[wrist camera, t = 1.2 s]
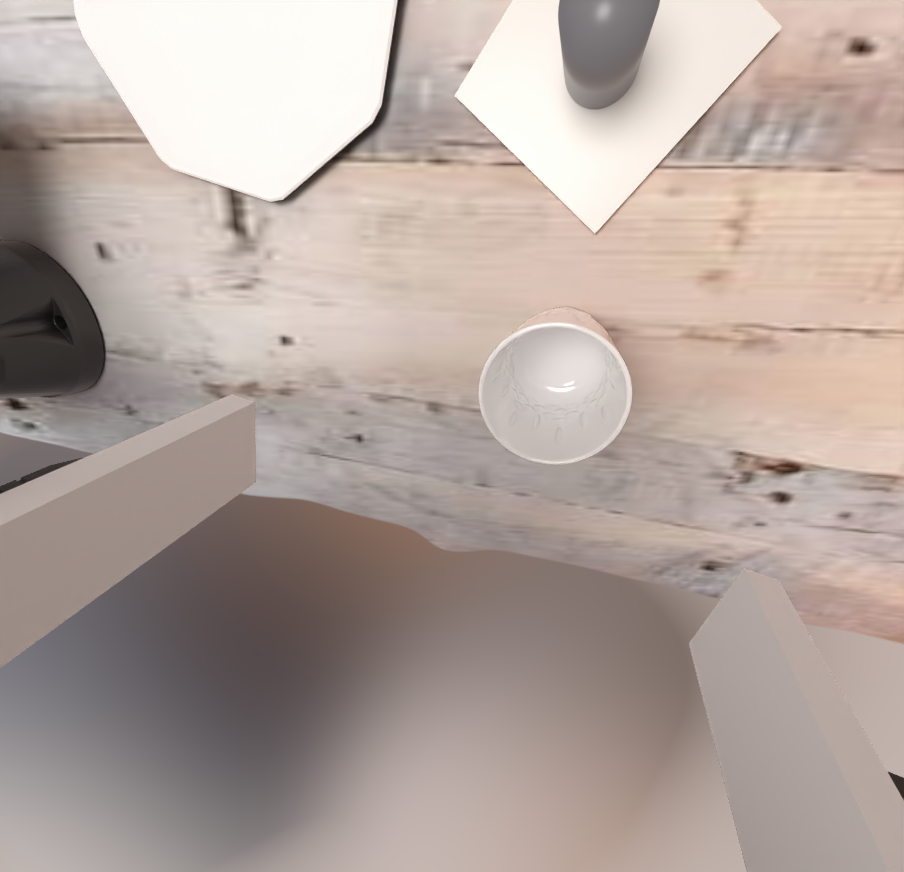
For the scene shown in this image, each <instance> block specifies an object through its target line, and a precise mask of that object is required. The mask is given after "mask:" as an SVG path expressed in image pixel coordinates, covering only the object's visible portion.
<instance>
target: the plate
mask: <svg viewBox="0 0 904 872" xmlns="http://www.w3.org/2000/svg"><path fill="white" fill-rule="evenodd" d="M73 2H74V10H75V16H76V19H77V22H78V25H79V28H80V31H81V33H82V36H83V38H84V40H85V41H86V43H87V45H88V46H89V48H90V49H91V51H92V52H93V54H94V56H95V57H96V59H97V60H98V62H99V63H100V65H101V67H102V68H103V70H104V71H105V73H106V75H107V76H108V78H109V79H110V81H111V82H112V84H113V86H114V87H115V89H116V90H117V92H118V93H119V95H120V97H121V98H122V100H123V101H124V103H125V104H126V106H127V108H128V109H129V111H130V112H131V114H132V116H133V117H134V119H135V120H136V122H137V123H138V125H139V127H140V128H141V130H142V131H143V133H144V134H145V136H146V138H147V139H148V141H149V142H150V144H151V145H152V147H153V149H154V150H155V152H156V153H157V155H158V157H159V158H160V159H161V160H162V161H163V162H164V163H165V164H166V165H168V166H169V167H170V168H171V169H172V170H175V171H178V172H182V173H185V174H188V175H191V176H194V177H197V178H200V179H203V180H206V181H209V182H212V183H215V184H218V185H221V186H224V187H227V188H230V189H233V190H236V191H239V192H242V193H245V194H248V195H251V196H254V197H257V198H260V199H263V200H266V201H269V202H274V201H279V200H285V199H286V198H287V197H288V196H289V195H291V194H292V193H293V192H294V191H295V190H296V189H298V188H299V187H300V186H301V185H302V184H303V183H305V182H306V181H307V180H308V179H309V178H310V177H312V176H313V175H314V174H315V173H316V172H317V171H319V170H320V169H321V168H322V167H323V166H324V165H326V164H327V163H328V162H329V161H330V160H332V159H333V158H334V157H335V156H336V155H337V154H339V153H340V152H341V151H342V150H343V149H344V148H346V147H347V146H348V145H349V144H350V143H351V142H353V141H354V140H355V139H356V138H357V137H358V136H360V135H361V134H362V133H363V132H364V131H365V130H367V129H368V128H369V127H370V126H371V125H372V124H374V122H375V120H376V118H377V116H378V114H379V112H380V110H381V108H382V106H383V101H384V94H385V88H386V81H387V75H388V68H389V62H390V55H391V49H392V42H393V36H394V29H395V23H396V16H397V10H398V3H399V0H73Z"/></svg>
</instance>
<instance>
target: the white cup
mask: <svg viewBox="0 0 904 872" xmlns="http://www.w3.org/2000/svg"><path fill="white" fill-rule="evenodd" d="M478 397H479V406H480V410H481V414H482V417H483V419H484V421H485V424H486V425H487V427H488V429H489V430H490V432H491V433H492V435H493V436H494V437H495V438H496V440H497V441H498V442H499V443H500V444H502V445H503V446H504V447H505V448H506V449H508V450H509V451H511V452H512V453H514V454H515V455H517V456H519V457H521V458H524V459H526V460H529V461H532V462H536V463H541V464H550V465H560V464H569V463H574V462H578V461H581V460H584V459H586V458H589V457H591V456H593V455H595V454H596V453H598V452H600V451H601V450H603V449H604V448H605V447H606V446H608V445H609V444H610V443H611V442H612V441H613V440H614V439H615V437H616V436H617V435H618V434H619V432H620V431H621V429H622V428H623V426H624V424H625V422H626V420H627V418H628V415H629V412H630V408H631V403H632V383H631V378H630V374H629V371H628V368H627V366H626V364H625V362H624V360H623V358H622V357H621V355H620V353H619V351H618V349H617V348H616V346H615V344H614V342H613V340H612V339H611V337H610V336H609V334H608V333H607V332H606V330H605V329H604V328H603V327H602V326H601V325H600V324H599V323H598V322H597V321H596V320H595V319H594V318H593V317H592V316H591V315H590V314H589V313H586V312H583V311H580V310H577V309H574V308H571V307H561V308H553V309H546V310H544V311H543V312H541V313H540V314H538V315H535V316H533V317H532V318H530V319H529V320H527V321H526V322H524V323H523V324H522V325H520V326H519V327H518V328H517V329H516V330H515V331H513V332H512V333H511V334H510V335H509V336H508V337H507V338H506V339H505V340H504V341H503V342H501V343H500V344H499V345H498V346H497V348H496V349H495V350H494V351H493V352H492V354H491V355H490V357H489V358H488V360H487V362H486V364H485V366H484V368H483V371H482V374H481V377H480V382H479V390H478Z"/></svg>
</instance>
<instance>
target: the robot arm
mask: <svg viewBox="0 0 904 872" xmlns="http://www.w3.org/2000/svg"><path fill="white" fill-rule="evenodd" d="M103 361H104V351H103V343H102V337H101V333H100V330H99V327H98V324H97V321H96V319H95V316H94V314H93V312H92V310H91V308H90V306H89V304H88V302H87V300H86V299H85V297H84V295H83V294H82V292H81V291H80V289H79V288H78V286H77V285H76V284H75V282H74V281H73V280H72V279H71V277H70V276H69V275H68V274H67V273H66V272H65V271H64V270H63V269H62V268H61V267H60V266H59V265H58V264H57V263H56V262H55V261H54V260H53V259H51V258H50V257H49V256H47V255H46V254H45V253H43V252H42V251H40V250H38V249H37V248H35V247H33V246H31V245H28V244H26V243H22V242H18V241H0V398H24V397H49V398H56V397H63V396H67V395H70V394H74V393H77V392H80V391H84V390H86V389H88V388H90V387H91V386H93V385H94V384H95V383H96V381H97V380H98V378H99V377H100V374H101V372H102V368H103ZM255 482H256V445H255V402H253V401H250V400H247V399H244V398H241V397H238V396H235V395H233V394H231V395H229V396H226V397H224V398H222V399H219V400H217V401H215V402H212V403H210V404H208V405H205V406H203V407H201V408H199V409H196V410H194V411H192V412H189V413H187V414H185V415H182V416H180V417H178V418H175V419H173V420H171V421H168V422H166V423H164V424H161V425H159V426H157V427H154V428H152V429H150V430H147V431H145V432H143V433H141V434H138V435H136V436H134V437H131V438H129V439H127V440H124V441H122V442H120V443H117V444H115V445H113V446H110V447H108V448H106V449H103V450H101V451H99V452H96V453H94V454H92V455H90V456H87V457H85V458H80V459H75V460H71V461H67V462H63V463H59V464H55V465H50V466H48V467H46V468H43V469H41V470H39V471H36V472H34V473H31V474H29V475H26V476H24V477H22V478H21V480H20V481H16V480H14V481H12V482H10V483H7V484H5V485H2V486H0V668H1V667H2V666H3V665H5V664H6V663H8V662H9V661H10V660H12V659H13V658H14V657H16V656H17V655H19V654H20V653H21V652H23V651H24V650H25V649H27V648H28V647H30V646H31V645H32V644H34V643H35V642H37V641H38V640H39V639H41V638H42V637H43V636H45V635H46V634H48V633H49V632H50V631H52V630H53V629H54V628H56V627H57V626H59V625H60V624H61V623H63V622H64V621H65V620H67V619H68V618H69V617H71V616H72V615H73V614H75V613H76V612H78V611H79V610H80V609H82V608H83V607H85V606H86V605H87V604H89V603H90V602H91V601H93V600H94V599H96V598H97V597H98V596H99V595H101V594H102V593H104V592H105V591H107V590H108V589H109V588H111V587H112V586H113V585H115V584H116V583H118V582H119V581H120V580H122V579H123V578H124V577H126V576H127V575H129V574H130V573H131V572H133V571H134V570H135V569H137V568H138V567H140V566H141V565H142V564H144V563H145V562H146V561H148V560H149V559H151V558H152V557H153V556H155V555H156V554H157V553H159V552H160V551H162V550H163V549H164V548H166V547H167V546H168V545H170V544H171V543H173V542H174V541H175V540H177V539H178V538H179V537H181V536H182V535H184V534H185V533H186V532H188V531H189V530H190V529H192V528H193V527H194V526H196V525H197V524H198V523H200V522H201V521H203V520H204V519H206V518H207V517H208V516H209V515H211V514H212V513H214V512H215V511H216V510H218V509H219V508H221V507H222V506H223V505H225V504H226V503H227V502H229V501H230V500H231V499H233V498H234V497H236V496H237V495H239V494H240V493H241V492H243V491H244V490H245V489H247V488H248V487H250V486H251V485H252V484H254V483H255ZM689 646H690V650H691V654H692V658H693V662H694V666H695V670H696V674H697V678H698V682H699V685H700V689H701V693H702V697H703V701H704V705H705V709H706V713H707V717H708V721H709V725H710V728H711V733H712V737H713V740H714V745H715V748H716V752H717V756H718V760H719V764H720V768H721V772H722V776H723V780H724V784H725V788H726V792H727V795H728V800H729V803H730V807H731V811H732V815H733V819H734V823H735V827H736V831H737V835H738V839H739V843H740V847H741V851H742V855H743V858H744V863H745V867H746V870H747V872H904V778H903V777H900V776H898V775H895V774H893V773H890V772H887V770H886V768H885V767H884V765H883V763H882V761H881V760H880V758H879V756H878V754H877V753H876V751H875V749H874V747H873V745H872V744H871V742H870V740H869V738H868V737H867V735H866V733H865V731H864V730H863V728H862V726H861V724H860V722H859V721H858V719H857V717H856V715H855V714H854V712H853V710H852V709H851V707H850V705H849V703H848V701H847V700H846V698H845V696H844V694H843V693H842V691H841V689H840V687H839V685H838V684H837V682H836V680H835V678H834V677H833V675H832V673H831V671H830V670H829V668H828V666H827V664H826V663H825V661H824V659H823V657H822V656H821V654H820V652H819V650H818V649H817V647H816V645H815V643H814V641H813V640H812V638H811V636H810V634H809V633H808V631H807V629H806V627H805V625H804V624H803V622H802V620H801V618H800V617H799V615H798V613H797V611H796V610H795V608H794V606H793V604H792V603H791V601H790V599H789V597H788V596H787V594H786V592H785V590H784V588H783V587H782V585H781V583H780V581H779V580H777V579H775V578H772V577H769V576H766V575H763V574H760V573H757V572H754V571H751V570H748V569H745V568H743V570H742V571H741V572H740V574H739V575H738V577H737V578H736V579H735V581H734V582H733V583H732V585H731V586H730V588H729V589H728V590H727V592H726V593H725V594H724V596H723V597H722V599H721V600H720V601H719V603H718V604H717V605H716V607H715V608H714V610H713V611H712V612H711V614H710V615H709V617H708V618H707V619H706V621H705V622H704V623H703V625H702V626H701V628H700V629H699V630H698V632H697V633H696V634H695V636H694V637H693V638H692V640H691V641H690V643H689Z"/></svg>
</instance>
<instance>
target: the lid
mask: <svg viewBox="0 0 904 872" xmlns="http://www.w3.org/2000/svg"><path fill="white" fill-rule="evenodd" d="M781 28H782V27H781V26H780V25H779V24H778V22H777V21H776V20H775V19H774V18H773V17H772V16H771V15H770V14H769V13H768V12H767V10H766V9H765V8H764V7H763V6H762V5H761V4H760V3H759V2H758V1H757V0H513V1H512V2H511V4H510V6H509V7H508V9H507V11H506V12H505V14H504V15H503V17H502V19H501V20H500V22H499V24H498V25H497V27H496V29H495V30H494V32H493V34H492V35H491V37H490V38H489V40H488V42H487V43H486V45H485V47H484V48H483V50H482V52H481V53H480V55H479V56H478V58H477V60H476V61H475V63H474V65H473V66H472V68H471V70H470V71H469V73H468V74H467V76H466V78H465V79H464V81H463V83H462V84H461V86H460V88H459V89H458V91H457V93H456V94H455V97H456V98H457V99H458V100H459V101H460V102H461V103H462V104H463V105H464V106H465V107H466V108H467V109H468V110H469V111H470V112H471V113H472V114H473V115H474V116H476V117H477V118H478V119H479V120H480V121H481V122H482V123H483V124H484V125H485V126H486V127H487V128H488V129H489V130H490V131H491V132H492V133H493V134H494V135H495V136H496V137H497V138H498V139H499V140H500V141H501V142H502V143H503V144H504V145H505V146H506V147H507V148H508V149H509V150H510V151H511V152H512V153H513V154H514V155H515V156H516V157H517V158H518V159H519V160H520V161H521V162H522V163H523V164H524V165H525V166H526V167H527V168H528V169H529V170H530V171H531V172H532V173H533V174H534V175H535V176H536V177H538V178H539V179H540V180H541V181H542V182H543V183H544V184H545V185H546V186H547V187H548V188H549V189H550V190H551V191H552V192H553V193H554V194H555V195H556V196H557V197H558V198H559V199H560V200H561V201H562V202H563V203H564V204H565V205H566V206H567V207H568V208H569V209H570V210H571V211H572V212H573V213H574V214H575V215H576V216H577V217H578V218H579V219H580V220H581V221H582V222H583V223H584V224H585V225H586V226H587V227H588V228H589V229H590V230H591V231H592V232H593V233H594V234H595V233H596V232H597V231H598V230H599V229H600V228H601V227H602V225H603V224H604V223H605V222H606V221H607V220H608V219H609V218H610V217H611V215H612V214H613V213H614V212H615V211H616V210H617V209H618V208H619V207H620V206H621V204H622V203H623V202H624V201H625V200H626V199H627V198H628V197H629V196H630V195H631V193H632V192H633V191H634V190H635V189H636V188H637V187H638V186H639V185H640V183H641V182H642V181H643V180H644V179H645V178H646V177H647V176H648V175H649V174H650V172H651V171H652V170H653V169H654V168H655V167H656V166H657V165H658V164H659V163H660V161H661V160H662V159H663V158H664V157H665V156H666V155H667V154H668V153H669V151H670V150H671V149H672V148H673V147H674V146H675V145H676V144H677V143H678V142H679V140H680V139H681V138H682V137H683V136H684V135H685V134H686V133H687V132H688V131H689V129H690V128H691V127H692V126H693V125H694V124H695V123H696V122H697V121H698V119H699V118H700V117H701V116H702V115H703V114H704V113H705V112H706V111H707V110H708V108H709V107H710V106H711V105H712V104H713V103H714V102H715V101H716V100H717V98H718V97H719V96H720V95H721V94H722V93H723V92H724V91H725V90H726V89H727V87H728V86H729V85H730V84H731V83H732V82H733V81H734V80H735V79H736V78H737V76H738V75H739V74H740V73H741V72H742V71H743V70H744V69H745V68H746V66H747V65H748V64H749V63H750V62H751V61H752V60H753V59H754V58H755V57H756V55H757V54H758V53H759V52H760V51H761V50H762V49H763V48H764V47H765V46H766V44H767V43H768V42H769V41H770V40H771V39H772V38H773V37H774V36H775V34H776V33H777V32H778V31H779V30H780V29H781Z"/></svg>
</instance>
